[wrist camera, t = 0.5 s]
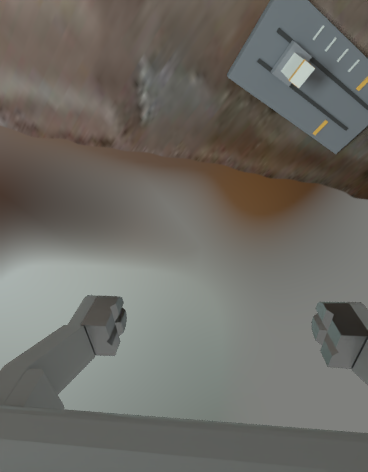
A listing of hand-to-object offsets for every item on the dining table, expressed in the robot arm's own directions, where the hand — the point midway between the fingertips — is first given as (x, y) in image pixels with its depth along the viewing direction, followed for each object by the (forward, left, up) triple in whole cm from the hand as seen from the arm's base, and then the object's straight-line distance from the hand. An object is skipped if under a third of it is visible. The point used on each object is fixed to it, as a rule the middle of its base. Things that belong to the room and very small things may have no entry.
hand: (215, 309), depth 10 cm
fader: (-7, +14, -46) cm, 49 cm away
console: (-7, +21, -49) cm, 53 cm away
